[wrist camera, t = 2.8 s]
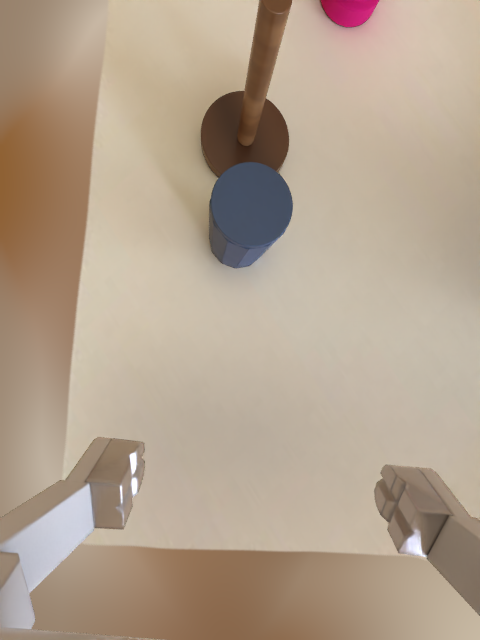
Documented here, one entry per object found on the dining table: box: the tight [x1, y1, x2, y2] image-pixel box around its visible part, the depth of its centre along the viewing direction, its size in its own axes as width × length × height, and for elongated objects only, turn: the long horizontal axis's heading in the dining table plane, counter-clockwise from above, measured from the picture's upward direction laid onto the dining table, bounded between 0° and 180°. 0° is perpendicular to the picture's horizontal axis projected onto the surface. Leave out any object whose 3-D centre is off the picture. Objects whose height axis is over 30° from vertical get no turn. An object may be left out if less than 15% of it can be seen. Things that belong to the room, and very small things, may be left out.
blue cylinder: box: [209, 162, 293, 268], centre depth 24 cm, size 6×6×10 cm
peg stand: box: [201, 0, 292, 177], centre depth 21 cm, size 9×9×14 cm
